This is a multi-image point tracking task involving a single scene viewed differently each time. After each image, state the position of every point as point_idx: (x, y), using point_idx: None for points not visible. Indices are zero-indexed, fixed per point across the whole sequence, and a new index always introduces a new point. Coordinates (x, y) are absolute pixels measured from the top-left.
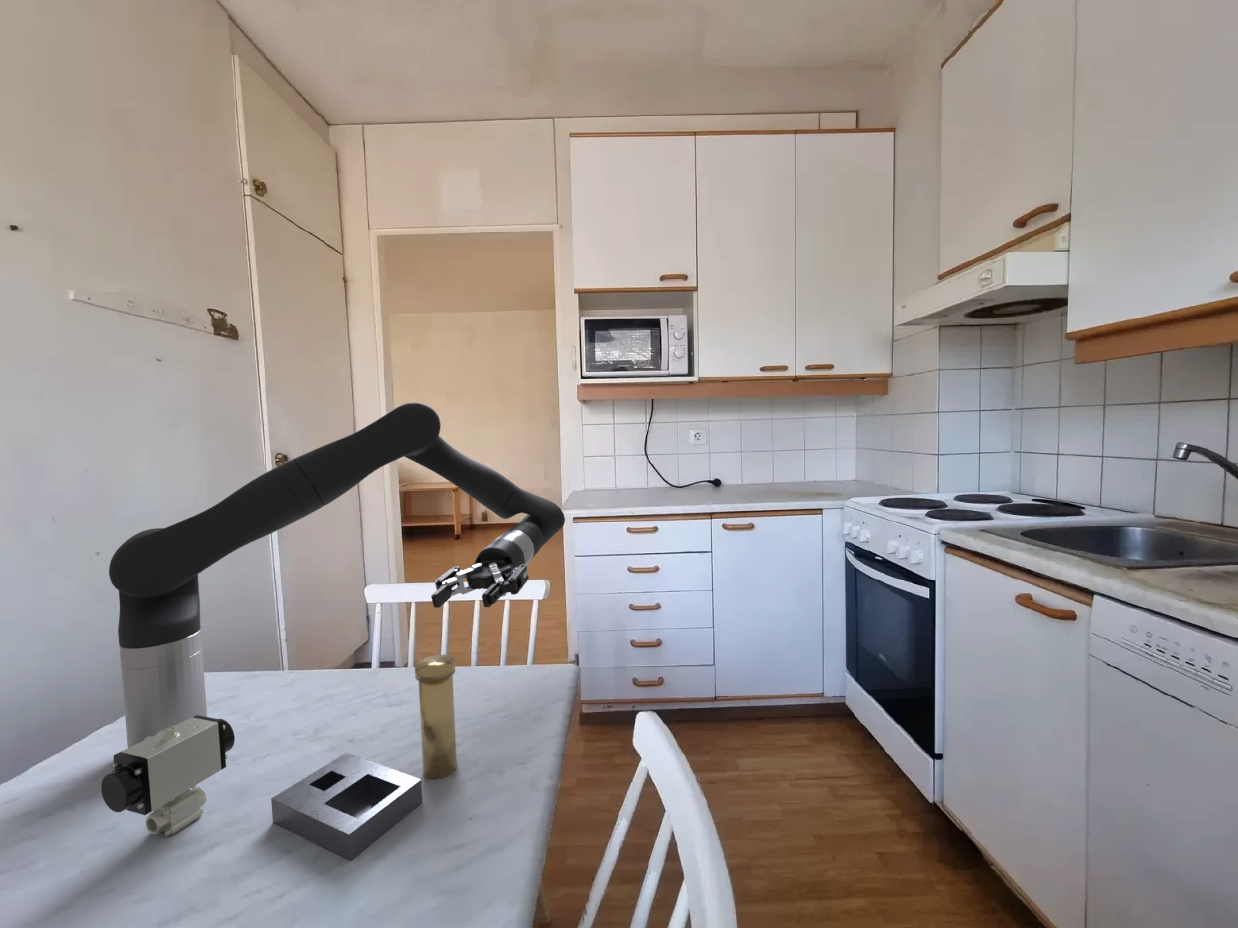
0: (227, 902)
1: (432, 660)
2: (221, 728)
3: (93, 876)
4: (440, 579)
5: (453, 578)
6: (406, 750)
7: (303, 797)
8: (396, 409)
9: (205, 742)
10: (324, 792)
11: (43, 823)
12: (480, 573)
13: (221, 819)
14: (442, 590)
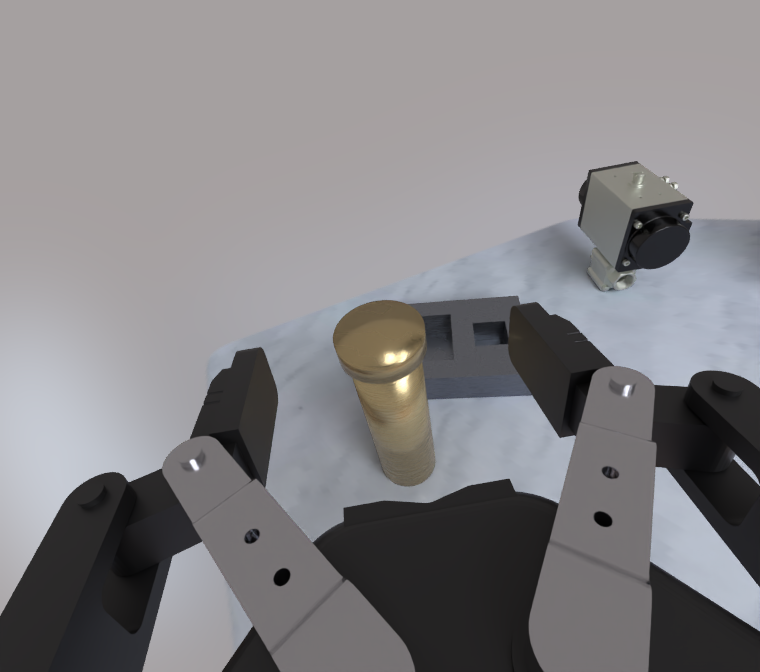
0: (442, 274)
1: (392, 334)
2: (631, 222)
3: (579, 241)
4: (727, 398)
5: (629, 428)
6: (510, 473)
7: (484, 310)
8: None
9: (617, 217)
10: (470, 322)
11: (735, 231)
12: (457, 557)
13: (575, 298)
14: (537, 338)
